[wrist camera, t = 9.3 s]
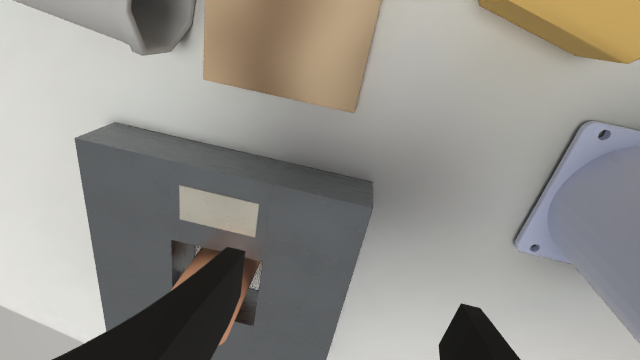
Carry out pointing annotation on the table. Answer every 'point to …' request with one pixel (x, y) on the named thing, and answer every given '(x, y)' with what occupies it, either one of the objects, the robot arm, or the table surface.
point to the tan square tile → (291, 47)
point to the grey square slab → (223, 233)
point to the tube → (127, 20)
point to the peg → (248, 275)
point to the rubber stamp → (579, 25)
